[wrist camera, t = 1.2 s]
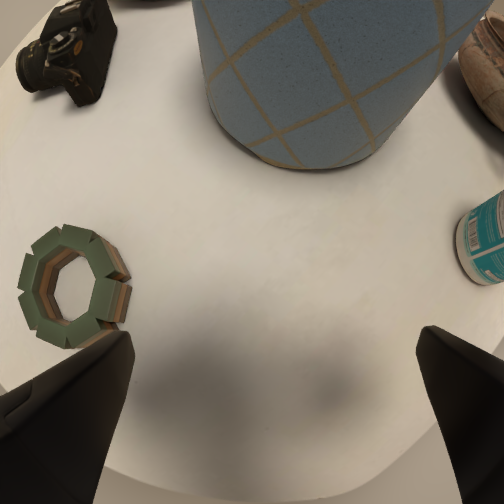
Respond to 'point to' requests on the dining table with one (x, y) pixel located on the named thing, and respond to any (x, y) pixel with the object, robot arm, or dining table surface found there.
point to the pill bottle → (483, 241)
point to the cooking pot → (486, 66)
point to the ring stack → (44, 280)
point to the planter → (324, 70)
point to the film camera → (70, 51)
